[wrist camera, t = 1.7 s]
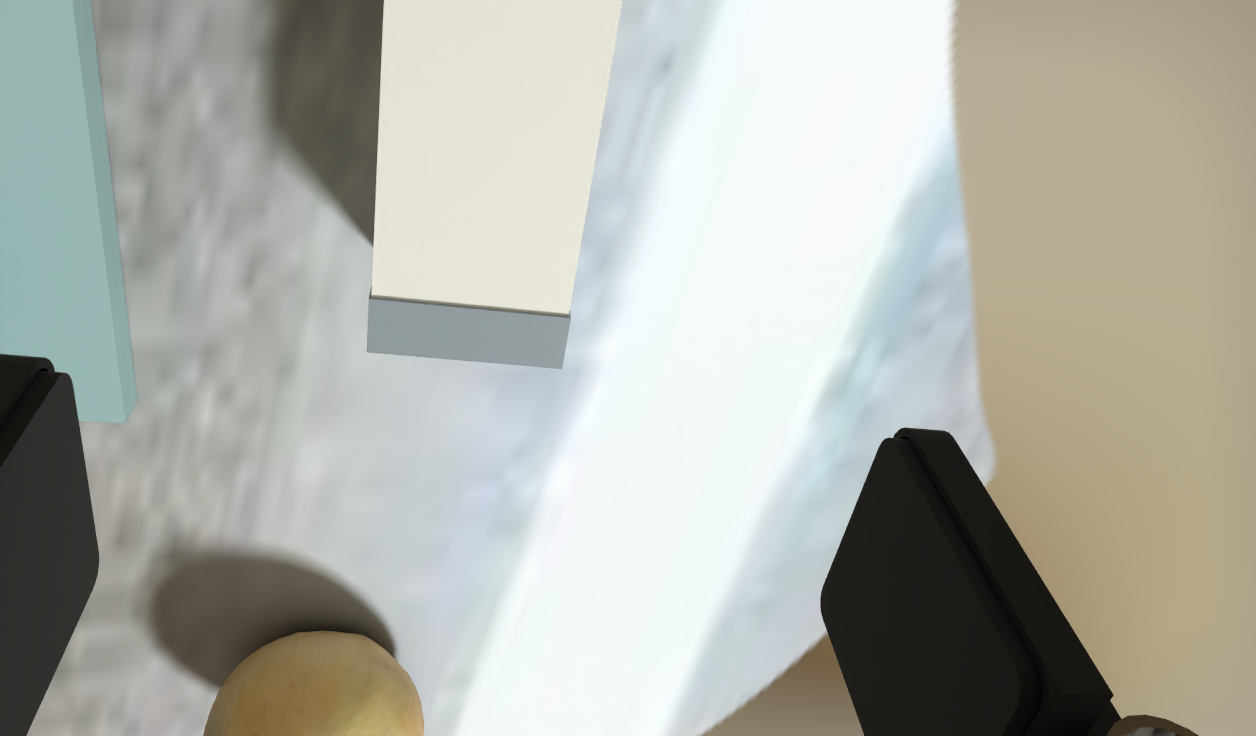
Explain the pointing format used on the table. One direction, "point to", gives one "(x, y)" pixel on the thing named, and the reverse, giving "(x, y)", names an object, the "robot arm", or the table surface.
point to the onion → (317, 690)
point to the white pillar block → (485, 174)
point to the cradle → (60, 208)
